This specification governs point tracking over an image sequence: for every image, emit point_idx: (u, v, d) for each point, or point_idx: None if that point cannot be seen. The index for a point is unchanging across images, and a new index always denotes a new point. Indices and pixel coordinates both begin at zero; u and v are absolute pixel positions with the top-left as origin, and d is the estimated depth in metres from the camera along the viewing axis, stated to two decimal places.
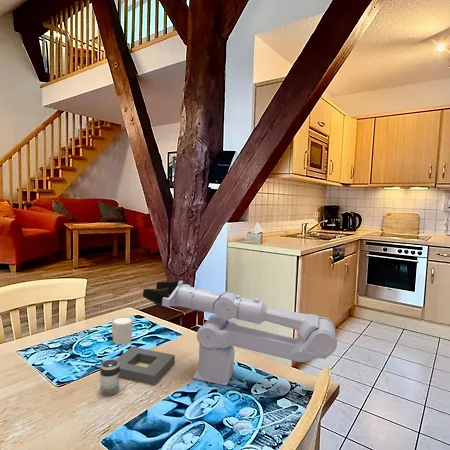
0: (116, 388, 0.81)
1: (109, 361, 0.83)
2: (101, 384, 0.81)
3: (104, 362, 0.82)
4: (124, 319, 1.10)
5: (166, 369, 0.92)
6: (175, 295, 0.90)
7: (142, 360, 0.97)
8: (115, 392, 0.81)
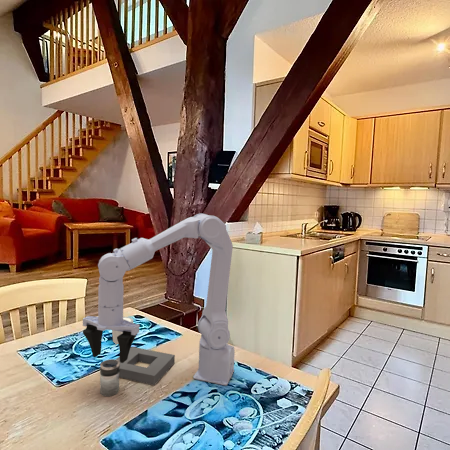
0: (116, 388, 0.81)
1: (109, 361, 0.83)
2: (101, 384, 0.81)
3: (104, 362, 0.82)
4: (124, 319, 1.10)
5: (166, 369, 0.92)
6: (119, 325, 0.79)
7: (142, 360, 0.97)
8: (115, 392, 0.81)
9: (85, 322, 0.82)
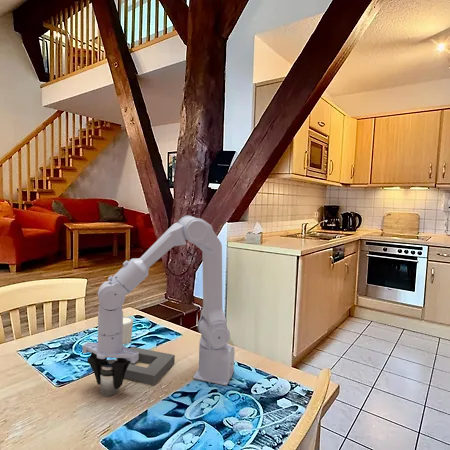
0: None
1: (109, 361, 0.83)
2: (101, 384, 0.81)
3: (104, 362, 0.82)
4: (124, 319, 1.10)
5: (166, 369, 0.92)
6: (118, 353, 0.80)
7: (142, 360, 0.97)
8: (115, 392, 0.81)
9: (85, 349, 0.82)
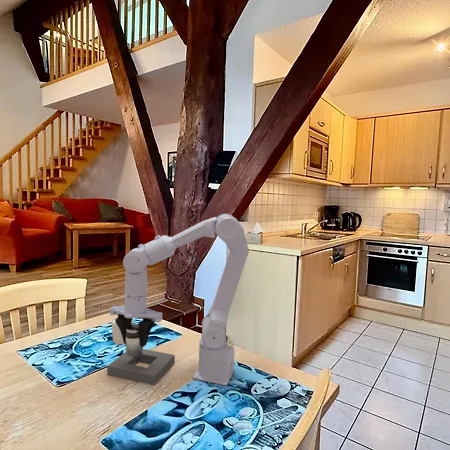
0: (140, 349, 0.88)
1: (133, 325, 0.89)
2: (127, 346, 0.88)
3: (129, 326, 0.89)
4: None
5: (166, 369, 0.92)
6: (144, 313, 0.87)
7: (142, 360, 0.97)
8: (140, 353, 0.88)
9: (112, 311, 0.90)
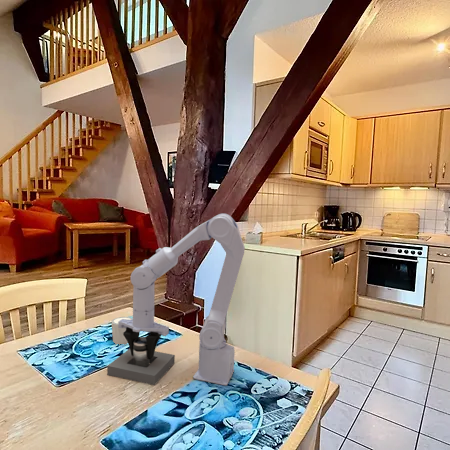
0: (147, 362, 0.92)
1: (140, 338, 0.93)
2: (134, 358, 0.91)
3: (136, 339, 0.92)
4: None
5: (166, 369, 0.92)
6: (151, 327, 0.91)
7: None
8: (147, 365, 0.92)
9: (120, 324, 0.93)
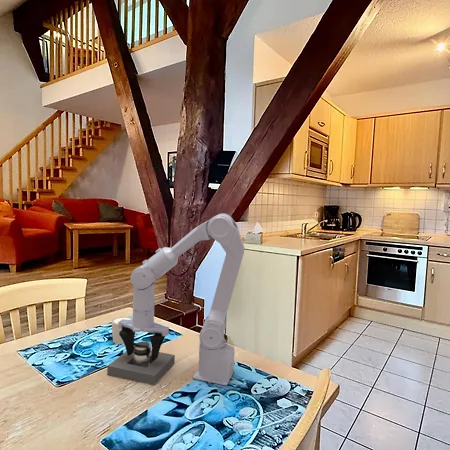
0: None
1: (141, 343, 0.93)
2: (134, 362, 0.91)
3: (137, 343, 0.93)
4: (124, 319, 1.10)
5: (166, 369, 0.92)
6: (151, 327, 0.91)
7: None
8: None
9: (120, 325, 0.93)
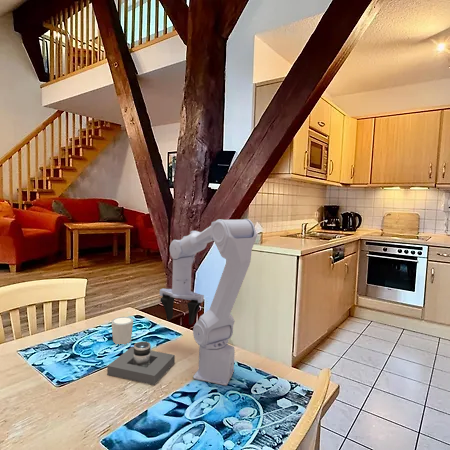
0: None
1: (141, 343, 0.93)
2: (134, 363, 0.91)
3: (137, 343, 0.93)
4: (124, 319, 1.10)
5: (166, 369, 0.92)
6: (188, 295, 1.02)
7: None
8: None
9: (161, 292, 1.05)
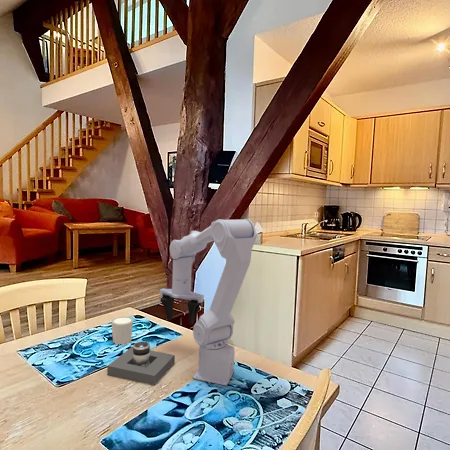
0: (147, 366, 0.92)
1: (140, 343, 0.93)
2: (134, 362, 0.91)
3: (136, 343, 0.93)
4: (124, 319, 1.10)
5: (166, 369, 0.92)
6: (188, 295, 1.02)
7: None
8: None
9: (161, 292, 1.05)
